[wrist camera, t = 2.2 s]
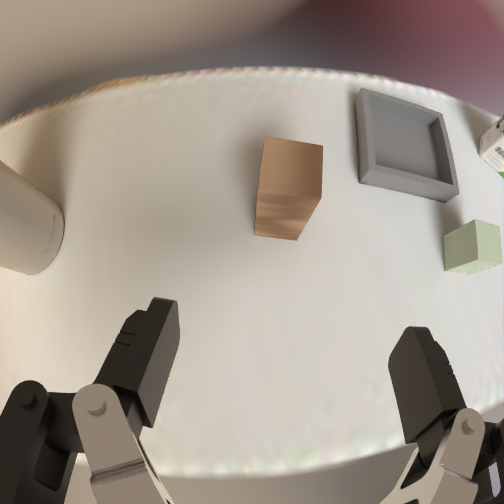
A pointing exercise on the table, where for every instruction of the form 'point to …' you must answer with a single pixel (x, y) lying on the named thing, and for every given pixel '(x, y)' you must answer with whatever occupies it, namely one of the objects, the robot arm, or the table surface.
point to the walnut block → (287, 187)
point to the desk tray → (404, 147)
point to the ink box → (494, 146)
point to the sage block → (472, 248)
